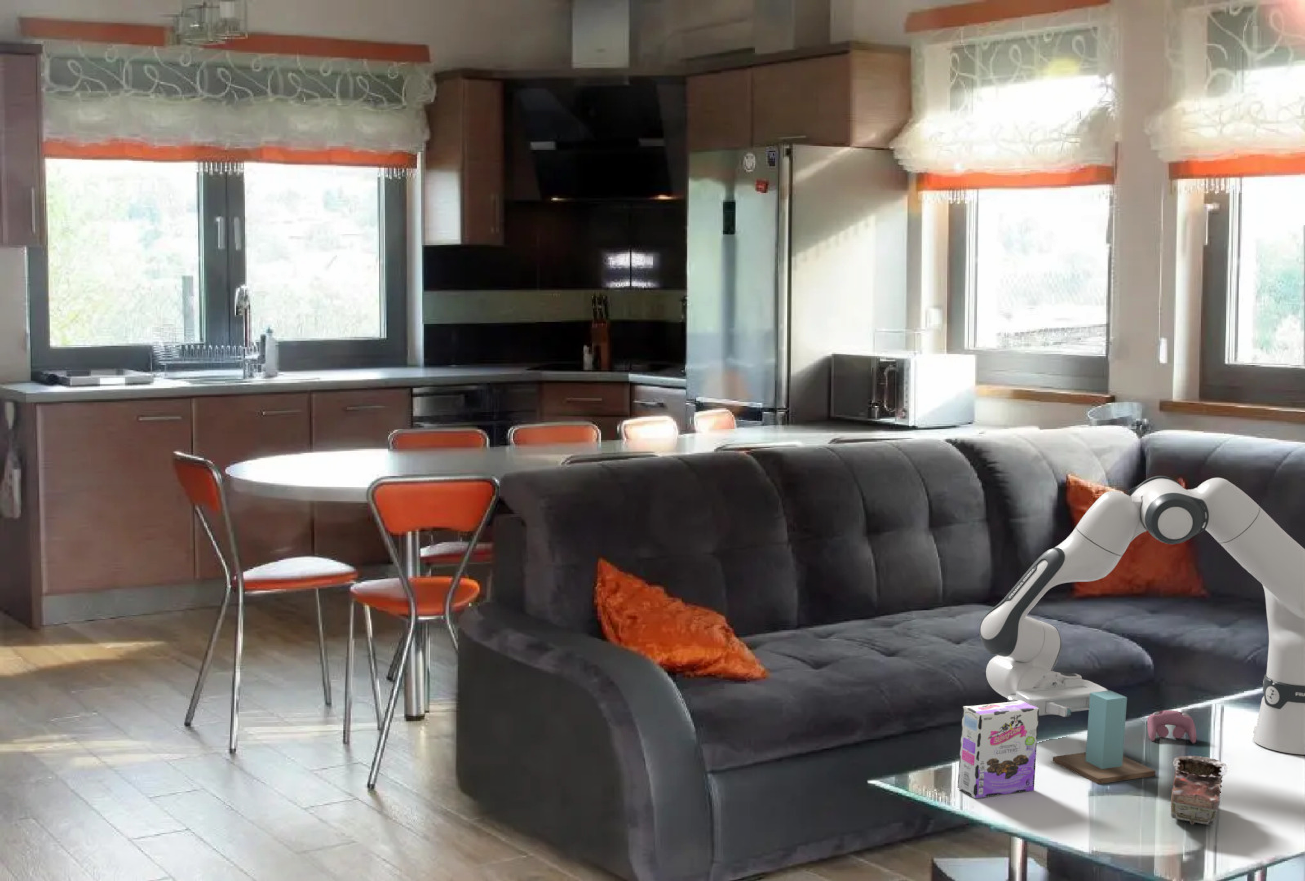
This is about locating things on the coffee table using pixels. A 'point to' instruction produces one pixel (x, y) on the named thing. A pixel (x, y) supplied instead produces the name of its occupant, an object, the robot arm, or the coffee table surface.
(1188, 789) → the decorative box
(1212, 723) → the coffee table surface
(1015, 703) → the candy box
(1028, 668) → the robot arm
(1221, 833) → the coffee table surface
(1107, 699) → the teal block
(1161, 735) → the video game controller
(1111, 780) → the walnut board
